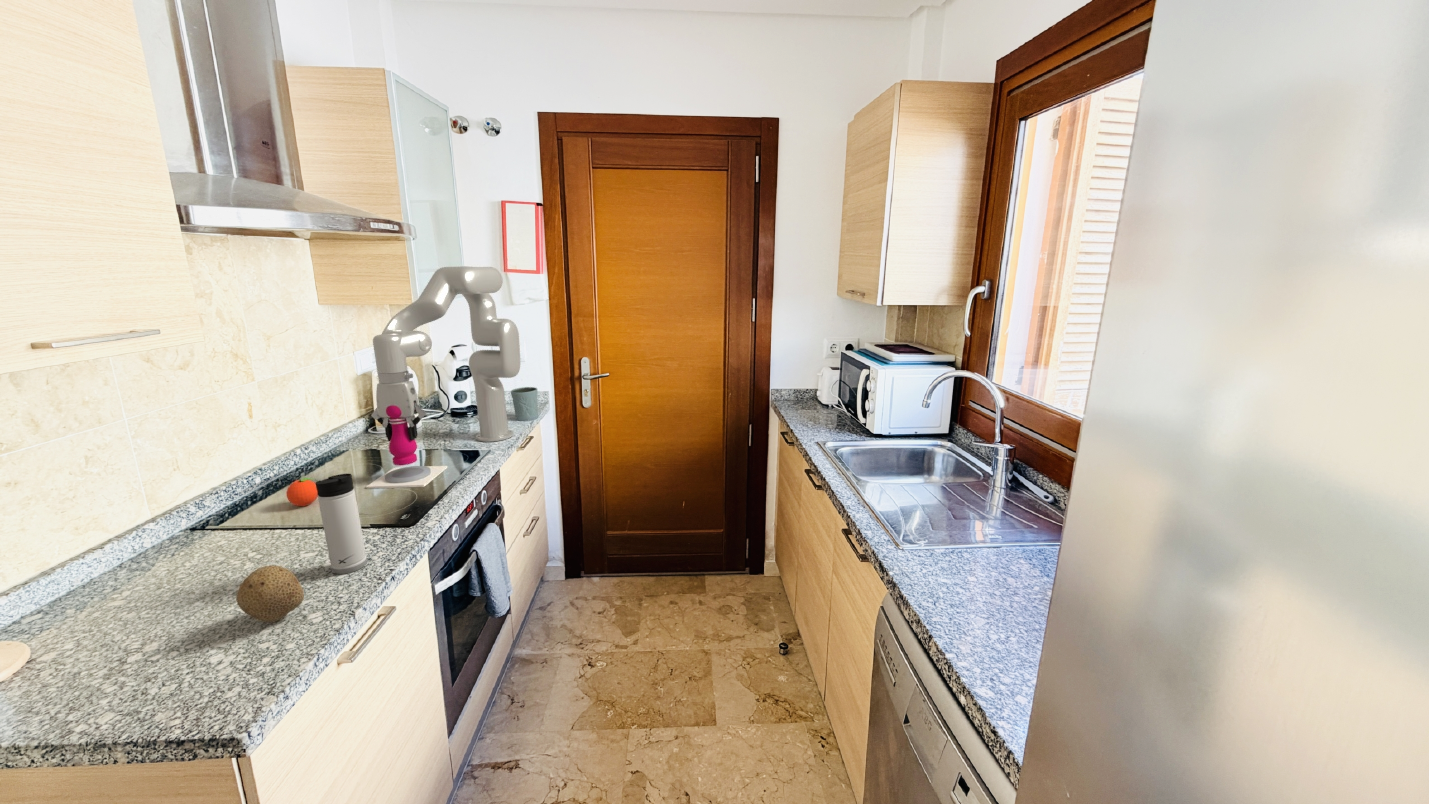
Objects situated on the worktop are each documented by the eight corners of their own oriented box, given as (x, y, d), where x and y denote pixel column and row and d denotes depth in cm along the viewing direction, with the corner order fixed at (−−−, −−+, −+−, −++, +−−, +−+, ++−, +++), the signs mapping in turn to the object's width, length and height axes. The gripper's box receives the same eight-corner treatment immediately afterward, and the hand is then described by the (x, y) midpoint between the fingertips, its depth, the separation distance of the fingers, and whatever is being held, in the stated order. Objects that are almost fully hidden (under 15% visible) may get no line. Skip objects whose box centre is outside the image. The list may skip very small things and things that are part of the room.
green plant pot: (542, 415, 242) (539, 386, 239) (536, 421, 232) (533, 391, 229) (517, 415, 241) (514, 387, 238) (510, 422, 231) (507, 392, 229)
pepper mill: (411, 466, 168) (400, 398, 163) (386, 466, 168) (375, 398, 163) (423, 457, 175) (414, 392, 170) (400, 458, 175) (389, 392, 170)
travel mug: (348, 577, 117) (330, 483, 113) (324, 571, 120) (306, 479, 115) (375, 562, 123) (360, 472, 118) (352, 557, 125) (336, 469, 121)
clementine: (314, 496, 160) (310, 472, 158) (330, 500, 157) (326, 475, 155) (283, 507, 153) (278, 482, 151) (299, 512, 150) (294, 485, 148)
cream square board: (394, 469, 180) (394, 464, 180) (447, 467, 180) (446, 462, 180) (366, 488, 165) (365, 483, 164) (423, 486, 165) (423, 481, 165)
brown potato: (237, 620, 103) (225, 569, 101) (297, 598, 110) (287, 550, 108) (249, 641, 98) (236, 587, 95) (311, 617, 104) (301, 566, 102)
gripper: (430, 374, 169) (438, 435, 174) (370, 376, 169) (379, 436, 173) (418, 379, 162) (426, 442, 166) (355, 381, 162) (365, 444, 166)
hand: (402, 438), depth 170 cm, fingers closed on pepper mill, 5 cm apart
